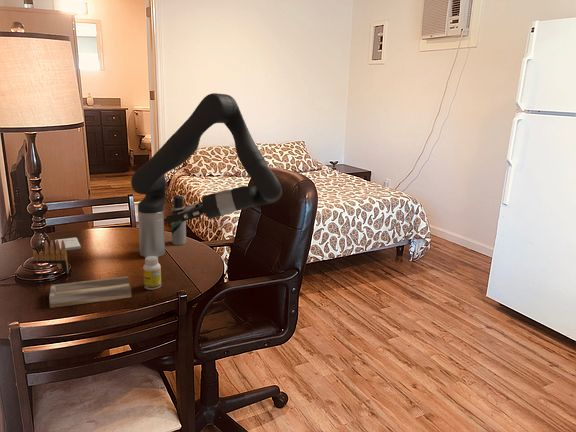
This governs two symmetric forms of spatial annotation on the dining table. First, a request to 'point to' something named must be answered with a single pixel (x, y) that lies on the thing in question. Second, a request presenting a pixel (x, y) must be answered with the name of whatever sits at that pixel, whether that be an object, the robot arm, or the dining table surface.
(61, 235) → the dining table surface
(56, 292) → the track
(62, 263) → the ammunition clip
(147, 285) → the supplement bottle
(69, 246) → the external hard drive
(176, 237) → the lotion bottle
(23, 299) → the dining table surface
